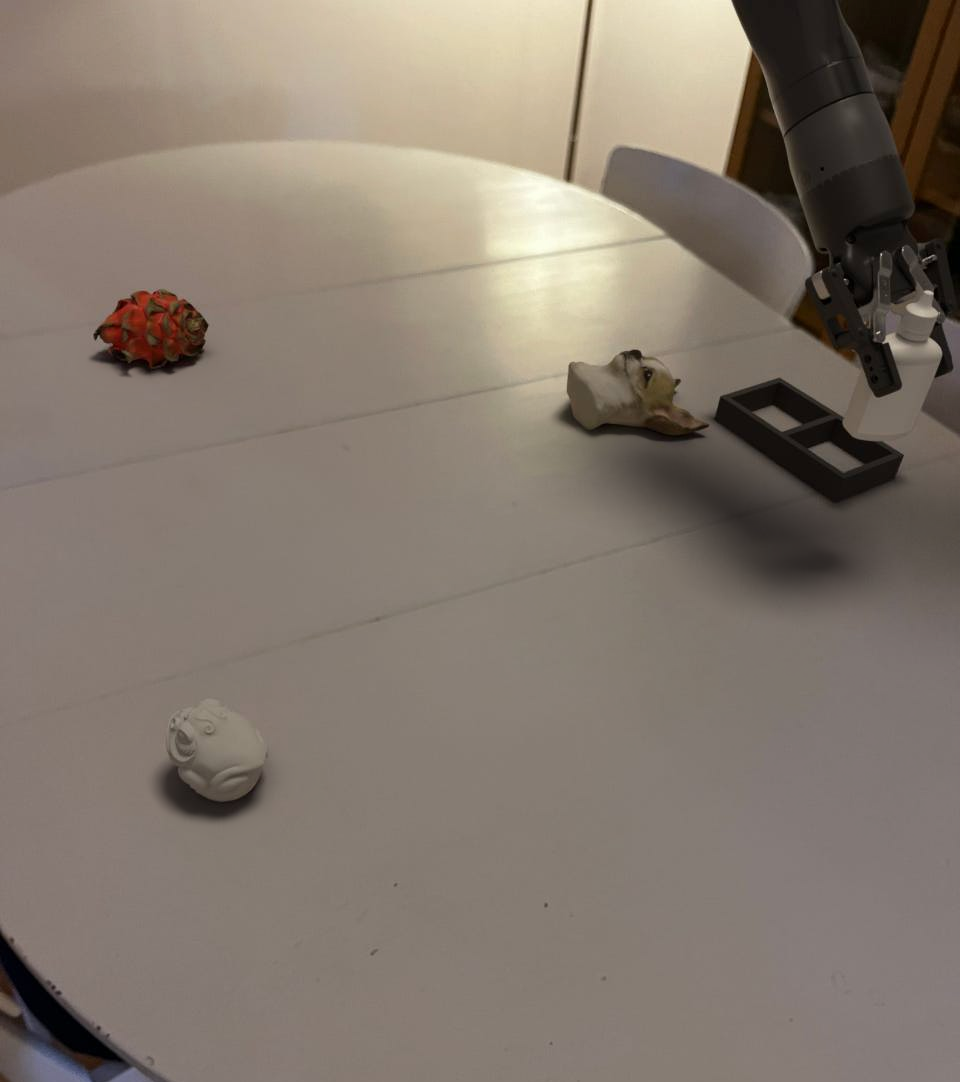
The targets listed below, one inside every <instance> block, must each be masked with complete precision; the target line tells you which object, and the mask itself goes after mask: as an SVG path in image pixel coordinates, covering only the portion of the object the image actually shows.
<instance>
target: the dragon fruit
mask: <svg viewBox="0 0 960 1082" xmlns="http://www.w3.org/2000/svg"><path fill="white" fill-rule="evenodd" d="M209 326H210V324H209V322H208V321H207V320H206V318H205V317H204V315H203V314H202V313H201V312H200V311H198V309H196V307H195V306H194V305H193V304H192V303H190V302H189V301H187V299H185V298H181V299H179V298H178V296H177V294H175V293H173V292H171V291H169V290H167V289H165V288H160V289H157V290H155V291H153V293H150V292H148V291H147V290H138V291H135V292H133V293H131V294H130V296H129V297H127V298H121V299H119V300H117V305H116V307H115V309H114V310H113V312H112V313H111V314H109V315H108V316H107V317H106V318H105V319H104V322H102V323H101V324H99V325H98V326H97V329H95V331H94V332H93V335H92V336H93V340H94V341H97V339H98V337H99V338H100V340H102V342H103V343H105V344H107V345H109V344H112V346H109V347H108V348H107V352H108V354H109V355H110V356H113V357H114V358H117V359H118V360H119V361H122V362H123V361H124V362H127V364H130V363H131V362H132V361H137V360H142V361H147V362H148V367H149V368H150V369H151V370H157V369H160V368H164V367H165V366H166V364H167V363H168V362H170V364H173V363H174V362H178V361H179V360H182V359H183V357H184V356H189V357H195V356H197V355H198V354H199V352H198V351H200V350H202V349H203V348H204V346H205V345H206V342H207V340H206V339H205V337H206V333H207V331H208V329H209ZM115 352H116V353H115ZM118 353H121V354H118ZM122 354H123V355H122ZM158 364H159V365H158Z"/></svg>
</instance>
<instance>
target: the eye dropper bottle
mask: <svg viewBox="0 0 960 1082" xmlns="http://www.w3.org/2000/svg"><path fill="white" fill-rule="evenodd" d="M933 297H934V292H931V291H927V290H926V291H924V293H923V294H922V296H921V297H920V299H919V301H918V302H917V303H911V304H908V305H907V306H906V307H905V310H904V313H903V315H902V317H901V318H900V320H899V324H898V326H897V329H896V331H895V332H891V333H889V334H886V339H885V341H884V342H882V343H883V344H884V343H887V342H889V345H890V348H891V351H892V354H893V357H894V360H895V363H896V366H897V369H898V373H899V376H900V379H901V382H902V388H901V389H900V390H899V391H896V392H894V393H891V394H888V395H886V396H883V397H880V398H877V397H875V396H874V394H873V392H872V390H871V389H870V387H869V385H868V382H867V378H866V376H865V373H864V370H863V367H862V366H861V369H860V372H859V375H858V377H857V380H856V383H855V385H854V388H853V391H852V394H851V397H850V400H849V401H848V405H847V408H846V411H845V413H844V416H843V417H844V419H843V426H844V428H845V429H846V430H847V431H848V432H849V434H850V435H851V436H853V437H854V438H857V439H861V440H867V441H883V442H889V441H890V442H892V441H896V440H901V439H904V438H906V437H908V436H909V435H910V434H911V433H912V432H913V430H914V427H915V424H916V422H917V420H918V417H919V415H920V413H921V412H922V408H923V406H924V404H925V401H926V398H927V396H928V394H929V391H930V389H931V386H932V384H933V381H934V379H935V378H934V376H935V374H936V371H937V369H938V366H939V364H940V361H941V358H942V350H941V348H940V346H939V345H938V344H937V343H936V342H935V341H934V340H933V339H931V338H929V337H930V334H931V332H932V329H933V327H934V324H935V322H936V319H937V317H938V312H937V310H936V309H934V308H933V307H932V300H933Z"/></svg>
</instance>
